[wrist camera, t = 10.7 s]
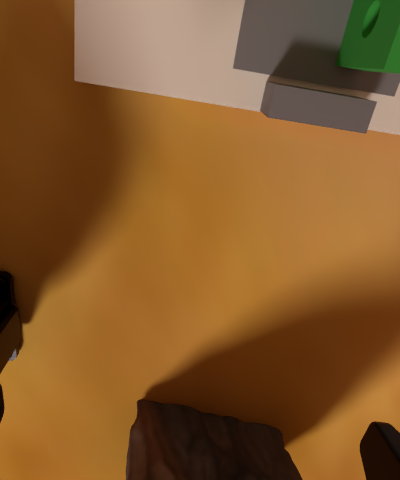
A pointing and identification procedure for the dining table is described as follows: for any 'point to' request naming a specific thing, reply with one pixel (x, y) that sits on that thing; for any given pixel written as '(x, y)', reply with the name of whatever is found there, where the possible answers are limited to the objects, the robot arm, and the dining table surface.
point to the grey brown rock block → (203, 447)
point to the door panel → (236, 58)
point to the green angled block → (372, 37)
